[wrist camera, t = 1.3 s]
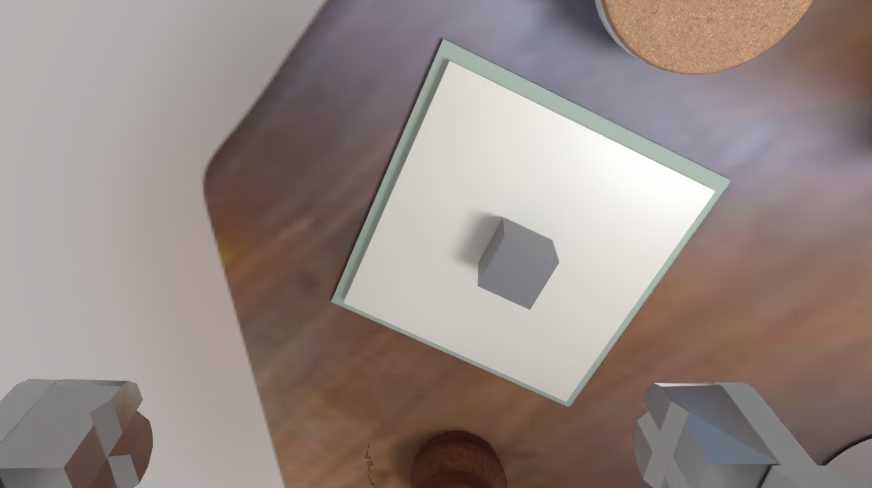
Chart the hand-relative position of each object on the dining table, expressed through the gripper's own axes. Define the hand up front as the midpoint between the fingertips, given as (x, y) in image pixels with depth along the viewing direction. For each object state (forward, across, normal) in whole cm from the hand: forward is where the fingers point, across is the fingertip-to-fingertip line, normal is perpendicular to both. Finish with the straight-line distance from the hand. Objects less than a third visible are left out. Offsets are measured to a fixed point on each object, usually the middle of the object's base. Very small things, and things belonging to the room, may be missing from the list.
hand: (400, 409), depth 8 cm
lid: (+28, +8, -12) cm, 31 cm away
